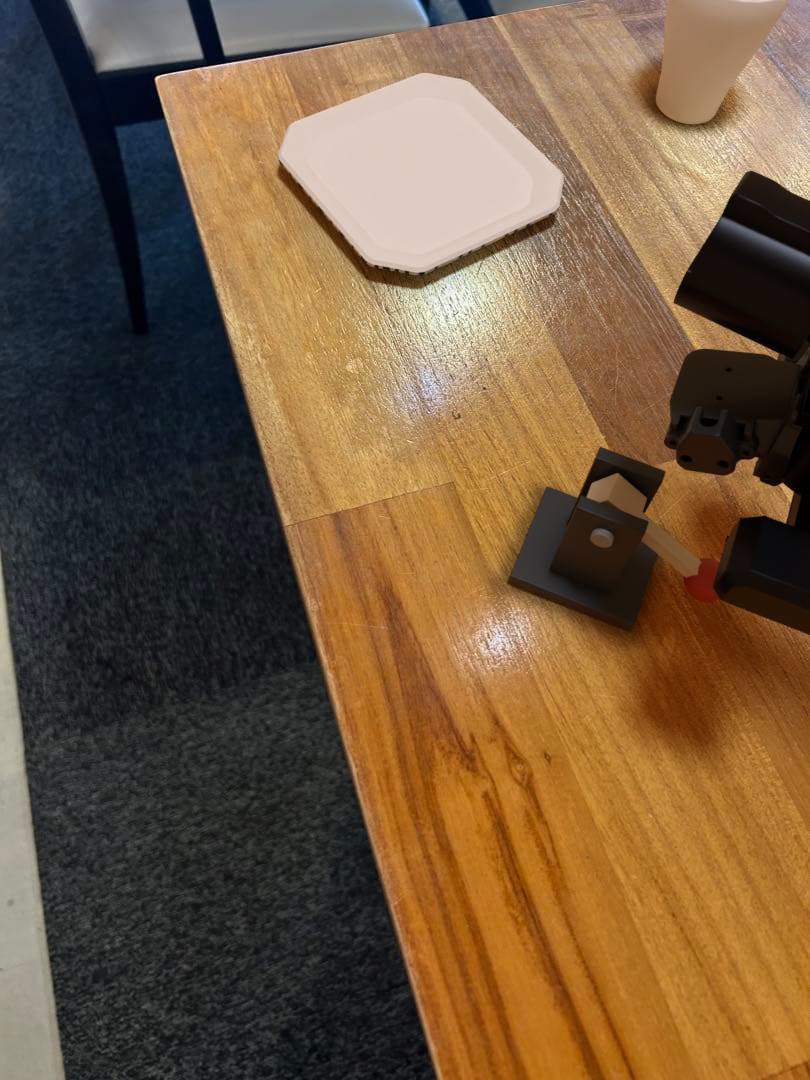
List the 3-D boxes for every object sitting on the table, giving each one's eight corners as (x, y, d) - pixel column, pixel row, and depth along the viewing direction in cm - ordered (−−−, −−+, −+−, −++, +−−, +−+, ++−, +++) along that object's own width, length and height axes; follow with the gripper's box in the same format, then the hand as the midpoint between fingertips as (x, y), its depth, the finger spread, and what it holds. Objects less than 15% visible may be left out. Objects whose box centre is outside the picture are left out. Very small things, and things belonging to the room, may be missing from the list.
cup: (621, 122, 91) (664, -19, 79) (645, 58, 95) (690, -84, 84) (728, 153, 89) (788, 16, 78) (748, 87, 94) (807, -52, 82)
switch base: (660, 539, 69) (707, 465, 60) (630, 632, 65) (675, 568, 57) (543, 494, 70) (573, 415, 62) (507, 583, 66) (533, 513, 58)
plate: (581, 213, 84) (587, 193, 82) (388, 305, 78) (389, 285, 76) (446, 80, 92) (449, 59, 90) (259, 154, 85) (258, 132, 83)
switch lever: (709, 578, 66) (744, 570, 64) (698, 614, 65) (734, 607, 62) (590, 479, 62) (622, 466, 60) (576, 515, 61) (609, 503, 58)
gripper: (756, 201, 50) (665, 384, 64) (665, 473, 42) (583, 617, 55) (967, 271, 49) (827, 443, 62) (918, 568, 40) (769, 692, 54)
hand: (751, 539), depth 59 cm, fingers open, 9 cm apart
